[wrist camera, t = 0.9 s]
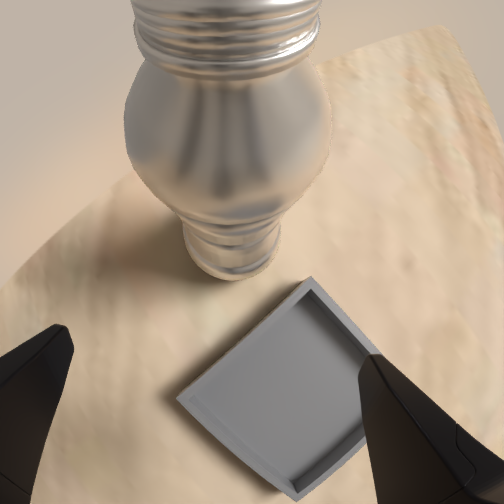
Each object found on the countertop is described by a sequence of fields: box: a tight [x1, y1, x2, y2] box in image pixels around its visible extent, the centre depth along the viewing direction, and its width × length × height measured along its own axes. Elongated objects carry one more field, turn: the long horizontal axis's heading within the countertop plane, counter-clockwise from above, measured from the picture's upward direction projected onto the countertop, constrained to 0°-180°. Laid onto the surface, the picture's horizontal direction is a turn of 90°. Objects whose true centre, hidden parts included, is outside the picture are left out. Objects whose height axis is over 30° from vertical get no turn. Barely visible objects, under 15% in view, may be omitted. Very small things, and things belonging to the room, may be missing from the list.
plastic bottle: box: [124, 0, 332, 281], centre depth 13 cm, size 6×7×20 cm
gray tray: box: [176, 276, 382, 502], centre depth 19 cm, size 12×12×2 cm
